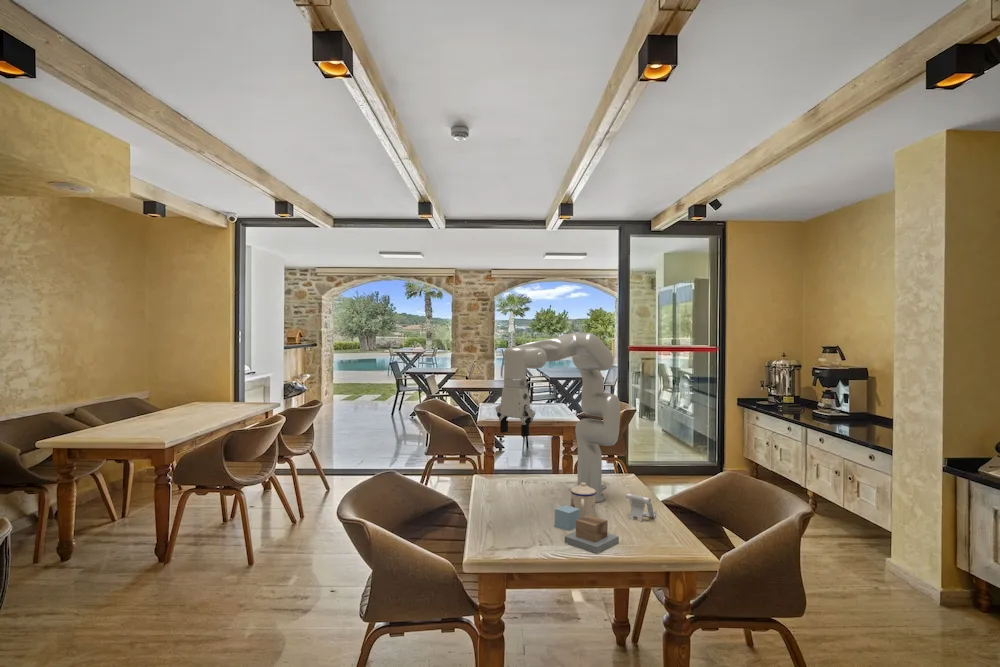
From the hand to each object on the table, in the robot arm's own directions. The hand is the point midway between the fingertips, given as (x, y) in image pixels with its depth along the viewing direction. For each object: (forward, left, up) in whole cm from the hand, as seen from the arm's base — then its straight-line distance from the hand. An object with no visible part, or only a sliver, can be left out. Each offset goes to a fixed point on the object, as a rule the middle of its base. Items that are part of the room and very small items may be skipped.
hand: (514, 434), depth 178 cm
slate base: (-7, +27, -31) cm, 42 cm away
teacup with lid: (-25, +11, -31) cm, 42 cm away
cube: (-13, +13, -31) cm, 36 cm away
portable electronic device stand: (-39, +26, -31) cm, 56 cm away
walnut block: (-7, +27, -29) cm, 40 cm away
